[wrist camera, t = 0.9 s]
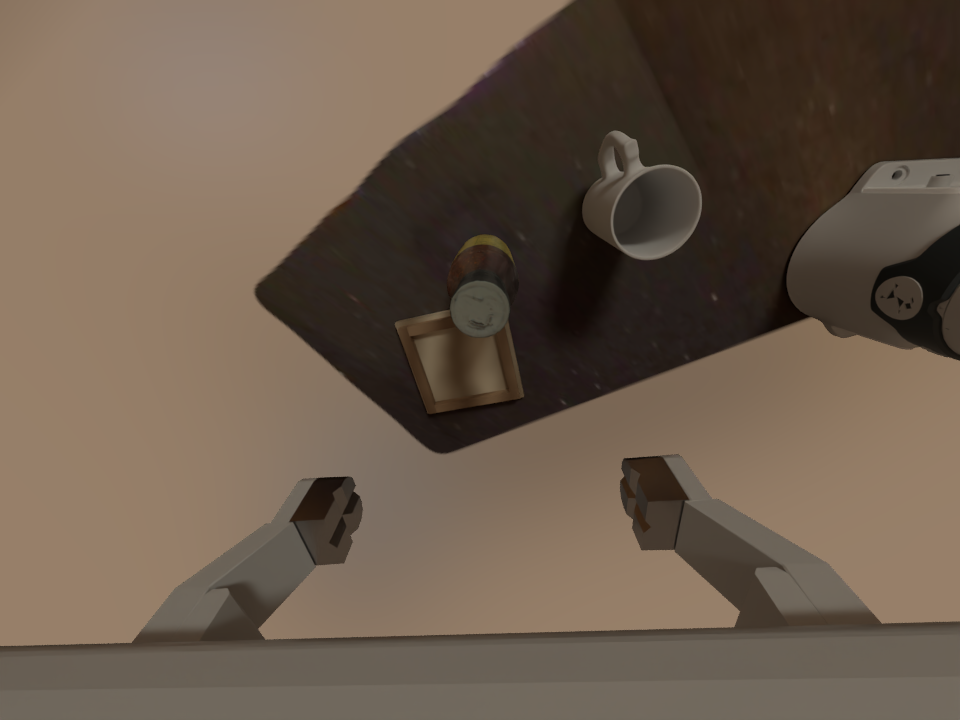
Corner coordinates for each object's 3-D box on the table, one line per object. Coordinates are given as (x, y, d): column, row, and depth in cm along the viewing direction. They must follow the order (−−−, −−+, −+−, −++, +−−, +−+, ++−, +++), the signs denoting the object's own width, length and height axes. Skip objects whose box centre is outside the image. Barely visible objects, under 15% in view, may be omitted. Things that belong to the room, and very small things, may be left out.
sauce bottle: (486, 297, 43) (476, 377, 25) (448, 261, 41) (407, 320, 23) (525, 257, 40) (544, 314, 22) (486, 217, 38) (473, 245, 21)
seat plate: (503, 298, 42) (503, 303, 41) (523, 393, 48) (524, 400, 47) (396, 321, 45) (392, 326, 43) (429, 409, 51) (426, 417, 49)
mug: (650, 222, 38) (710, 236, 27) (590, 250, 39) (624, 274, 29) (624, 123, 34) (681, 95, 23) (559, 158, 36) (584, 147, 25)
